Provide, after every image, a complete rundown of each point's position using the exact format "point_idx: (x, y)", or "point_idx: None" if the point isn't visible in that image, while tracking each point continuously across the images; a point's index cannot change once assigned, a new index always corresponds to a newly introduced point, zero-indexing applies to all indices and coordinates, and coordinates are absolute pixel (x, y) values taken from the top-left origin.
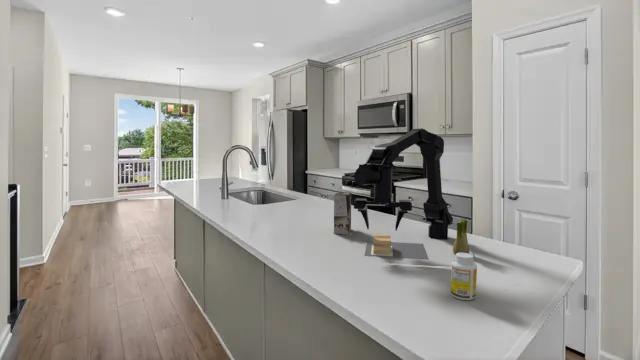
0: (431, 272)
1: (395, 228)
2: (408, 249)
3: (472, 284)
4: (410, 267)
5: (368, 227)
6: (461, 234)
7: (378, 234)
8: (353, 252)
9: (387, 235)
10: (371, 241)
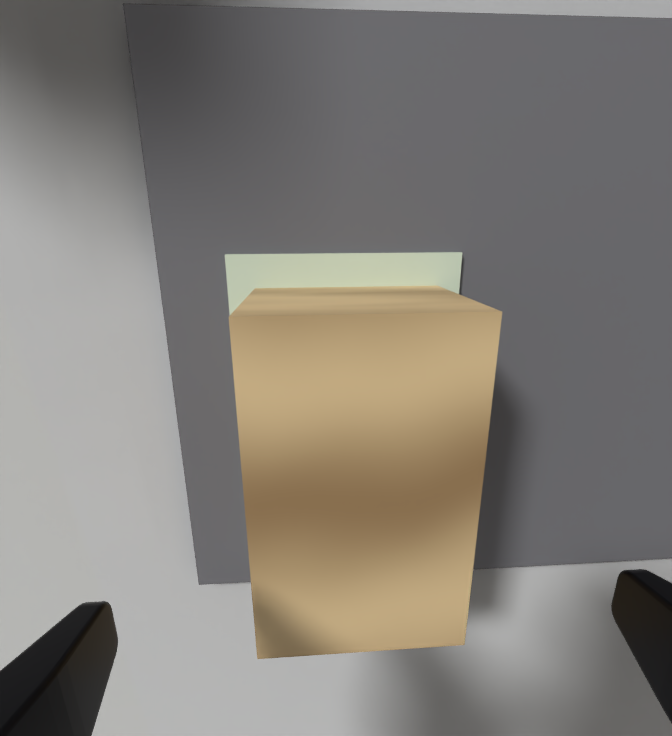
0: (630, 710)
1: (639, 641)
2: (615, 326)
3: None
4: (527, 671)
5: (99, 700)
6: None
7: (302, 372)
8: (74, 466)
9: (444, 407)
10: (191, 35)
